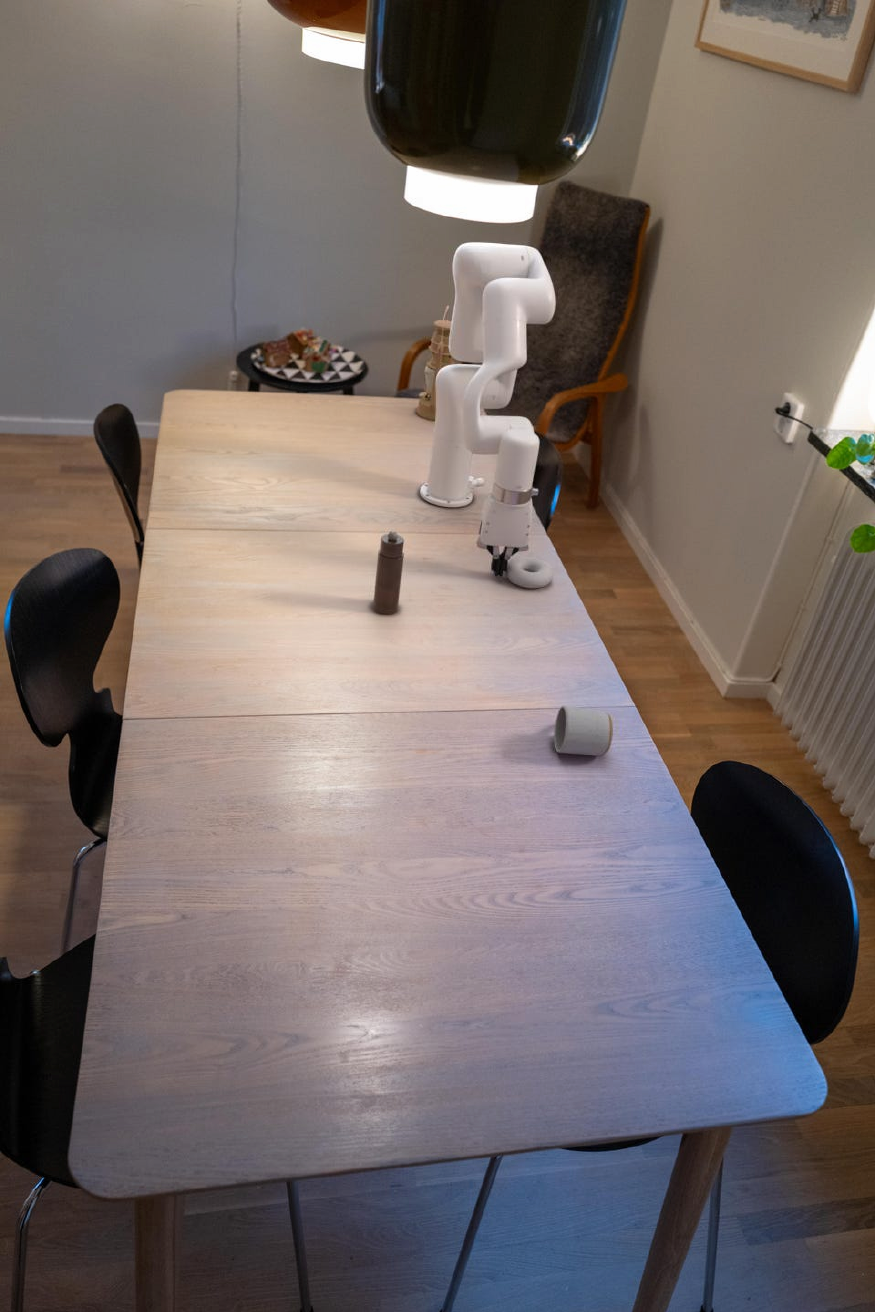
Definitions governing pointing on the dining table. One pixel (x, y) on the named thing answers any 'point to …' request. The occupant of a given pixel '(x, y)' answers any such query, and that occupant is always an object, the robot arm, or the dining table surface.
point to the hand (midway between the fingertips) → (497, 573)
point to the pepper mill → (388, 574)
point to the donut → (529, 572)
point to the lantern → (435, 366)
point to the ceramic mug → (582, 731)
